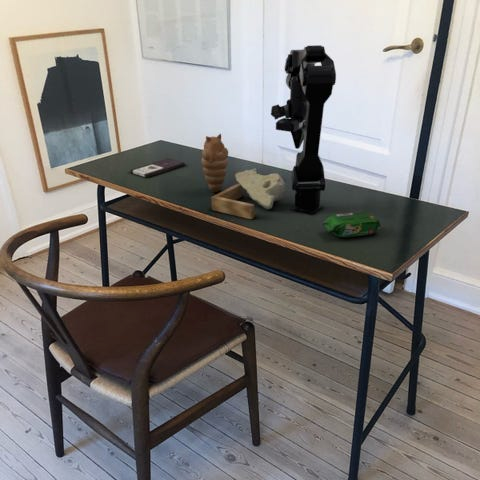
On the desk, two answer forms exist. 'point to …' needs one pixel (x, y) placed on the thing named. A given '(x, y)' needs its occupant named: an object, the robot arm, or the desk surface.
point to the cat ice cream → (214, 162)
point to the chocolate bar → (157, 167)
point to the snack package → (352, 224)
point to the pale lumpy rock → (262, 187)
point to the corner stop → (232, 203)
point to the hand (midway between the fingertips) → (297, 148)
